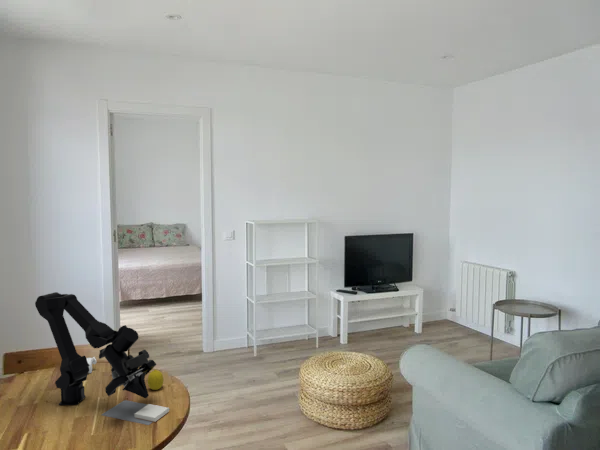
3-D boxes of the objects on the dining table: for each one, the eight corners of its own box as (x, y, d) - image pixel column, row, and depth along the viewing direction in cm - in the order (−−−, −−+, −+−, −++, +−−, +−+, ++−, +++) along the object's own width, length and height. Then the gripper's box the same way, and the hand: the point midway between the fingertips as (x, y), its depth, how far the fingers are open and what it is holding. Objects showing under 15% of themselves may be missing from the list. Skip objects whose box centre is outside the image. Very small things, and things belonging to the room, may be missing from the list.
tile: (134, 413, 143) (155, 417, 140) (148, 403, 149) (168, 407, 147) (134, 418, 143) (155, 422, 140) (149, 408, 149) (169, 412, 147)
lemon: (158, 394, 161) (158, 373, 160) (145, 393, 162) (144, 372, 162) (166, 388, 166) (165, 367, 166) (152, 387, 168) (152, 366, 167)
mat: (100, 417, 145) (100, 414, 145) (124, 402, 155) (124, 400, 155) (148, 427, 139) (148, 425, 139) (170, 411, 149) (170, 408, 149)
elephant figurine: (97, 367, 187) (97, 353, 187) (96, 374, 180) (95, 360, 179) (79, 369, 185) (79, 355, 184) (77, 376, 177) (76, 362, 177)
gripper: (111, 354, 137) (141, 395, 134) (151, 336, 154) (178, 371, 151) (92, 376, 140) (121, 416, 137) (133, 355, 158) (160, 390, 155)
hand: (147, 397), depth 145 cm, fingers closed
